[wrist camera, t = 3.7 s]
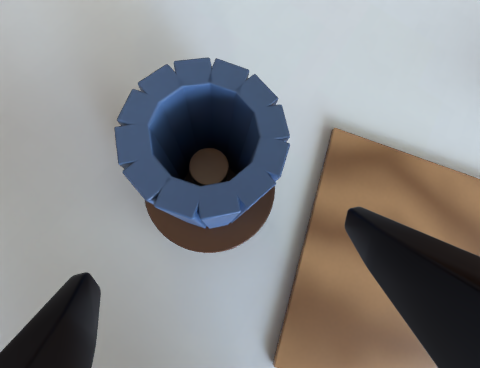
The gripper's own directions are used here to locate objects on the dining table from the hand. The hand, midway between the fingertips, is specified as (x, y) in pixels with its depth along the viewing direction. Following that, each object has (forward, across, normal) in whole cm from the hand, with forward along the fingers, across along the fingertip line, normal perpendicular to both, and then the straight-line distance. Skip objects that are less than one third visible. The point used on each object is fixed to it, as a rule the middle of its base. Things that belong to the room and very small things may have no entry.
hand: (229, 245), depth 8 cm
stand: (+11, 0, +5) cm, 12 cm away
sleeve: (+8, 0, +3) cm, 9 cm away
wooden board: (+4, -15, +12) cm, 19 cm away
